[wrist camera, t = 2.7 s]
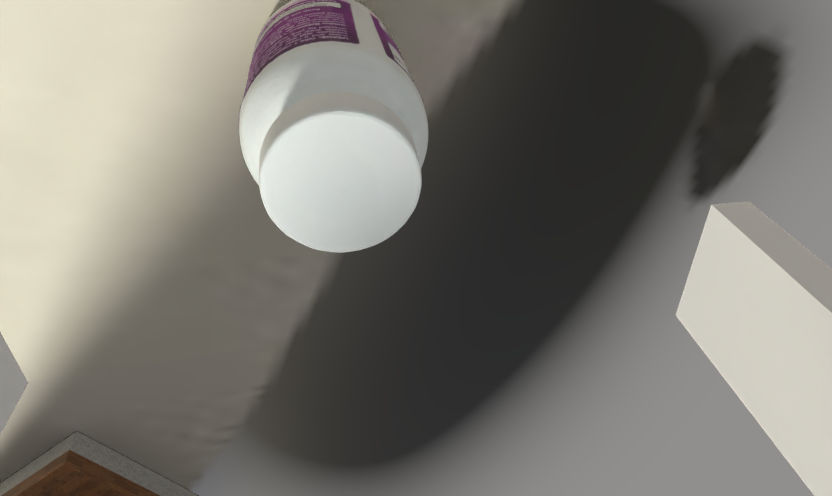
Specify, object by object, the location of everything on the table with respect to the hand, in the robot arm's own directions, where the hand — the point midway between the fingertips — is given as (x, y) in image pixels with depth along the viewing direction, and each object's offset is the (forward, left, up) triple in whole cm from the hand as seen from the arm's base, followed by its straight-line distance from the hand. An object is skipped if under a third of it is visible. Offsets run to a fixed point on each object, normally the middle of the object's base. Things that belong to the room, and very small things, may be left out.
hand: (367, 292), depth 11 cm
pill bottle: (0, 0, -14) cm, 14 cm away
